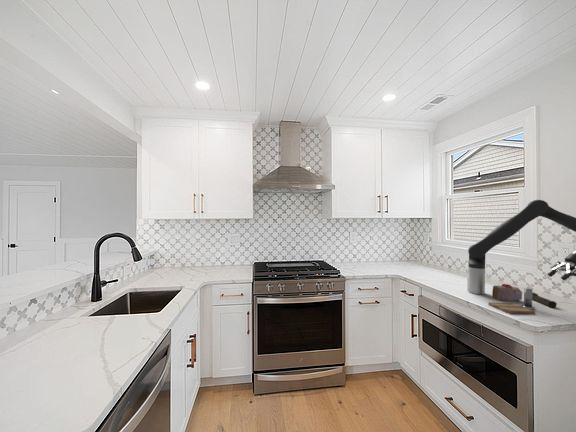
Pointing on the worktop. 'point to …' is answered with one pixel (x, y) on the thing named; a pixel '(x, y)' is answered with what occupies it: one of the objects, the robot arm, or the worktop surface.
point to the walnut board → (511, 308)
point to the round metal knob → (528, 299)
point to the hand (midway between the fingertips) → (555, 277)
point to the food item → (506, 293)
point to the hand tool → (543, 300)
